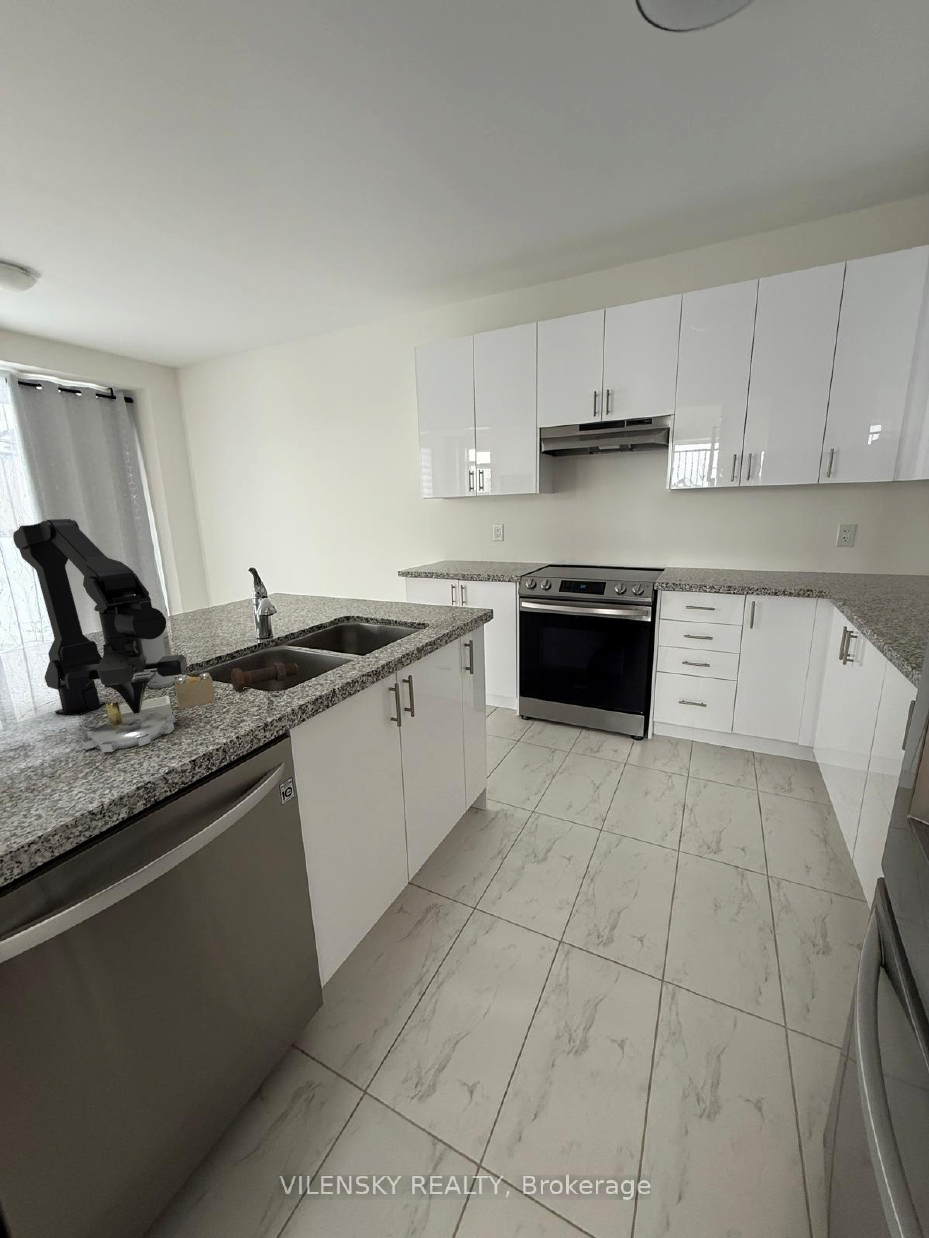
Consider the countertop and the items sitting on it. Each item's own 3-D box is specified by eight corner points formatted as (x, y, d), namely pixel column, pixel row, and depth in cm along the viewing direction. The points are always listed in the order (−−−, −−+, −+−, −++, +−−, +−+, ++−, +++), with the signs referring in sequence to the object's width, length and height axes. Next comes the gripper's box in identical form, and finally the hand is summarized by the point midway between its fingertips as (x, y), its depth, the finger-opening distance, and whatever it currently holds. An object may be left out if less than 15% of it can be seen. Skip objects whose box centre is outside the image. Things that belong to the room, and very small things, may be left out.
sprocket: (114, 759, 84) (107, 727, 83) (66, 744, 91) (60, 714, 89) (192, 725, 97) (188, 697, 96) (146, 714, 103) (141, 688, 102)
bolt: (299, 683, 126) (236, 697, 117) (292, 670, 129) (230, 682, 120) (302, 666, 123) (238, 679, 114) (294, 653, 126) (231, 664, 116)
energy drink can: (149, 684, 124) (138, 625, 121) (176, 679, 127) (166, 622, 124) (146, 691, 119) (135, 630, 116) (175, 686, 121) (165, 626, 118)
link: (179, 709, 106) (174, 681, 105) (178, 705, 109) (173, 677, 108) (215, 702, 110) (211, 674, 109) (213, 697, 113) (209, 671, 112)
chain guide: (114, 726, 99) (112, 715, 98) (114, 716, 104) (113, 706, 103) (172, 713, 104) (170, 703, 104) (170, 705, 109) (168, 695, 109)
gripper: (42, 651, 83) (62, 738, 87) (167, 638, 89) (182, 720, 92) (70, 637, 94) (87, 714, 97) (181, 626, 99) (193, 700, 103)
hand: (137, 712), depth 97 cm, fingers closed
